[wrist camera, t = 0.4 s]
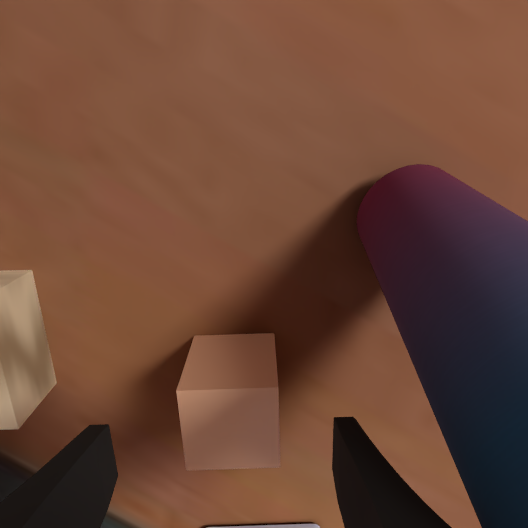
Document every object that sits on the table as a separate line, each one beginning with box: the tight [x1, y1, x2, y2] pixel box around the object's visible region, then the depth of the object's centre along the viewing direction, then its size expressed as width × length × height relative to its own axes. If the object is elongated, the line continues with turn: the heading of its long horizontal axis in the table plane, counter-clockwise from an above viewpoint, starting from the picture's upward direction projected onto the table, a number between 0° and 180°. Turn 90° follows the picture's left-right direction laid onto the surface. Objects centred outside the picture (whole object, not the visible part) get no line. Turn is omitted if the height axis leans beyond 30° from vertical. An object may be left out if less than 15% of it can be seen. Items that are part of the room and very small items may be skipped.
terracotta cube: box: [176, 333, 280, 471], centre depth 20 cm, size 4×4×5 cm
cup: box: [357, 164, 528, 528], centre depth 13 cm, size 7×7×15 cm
